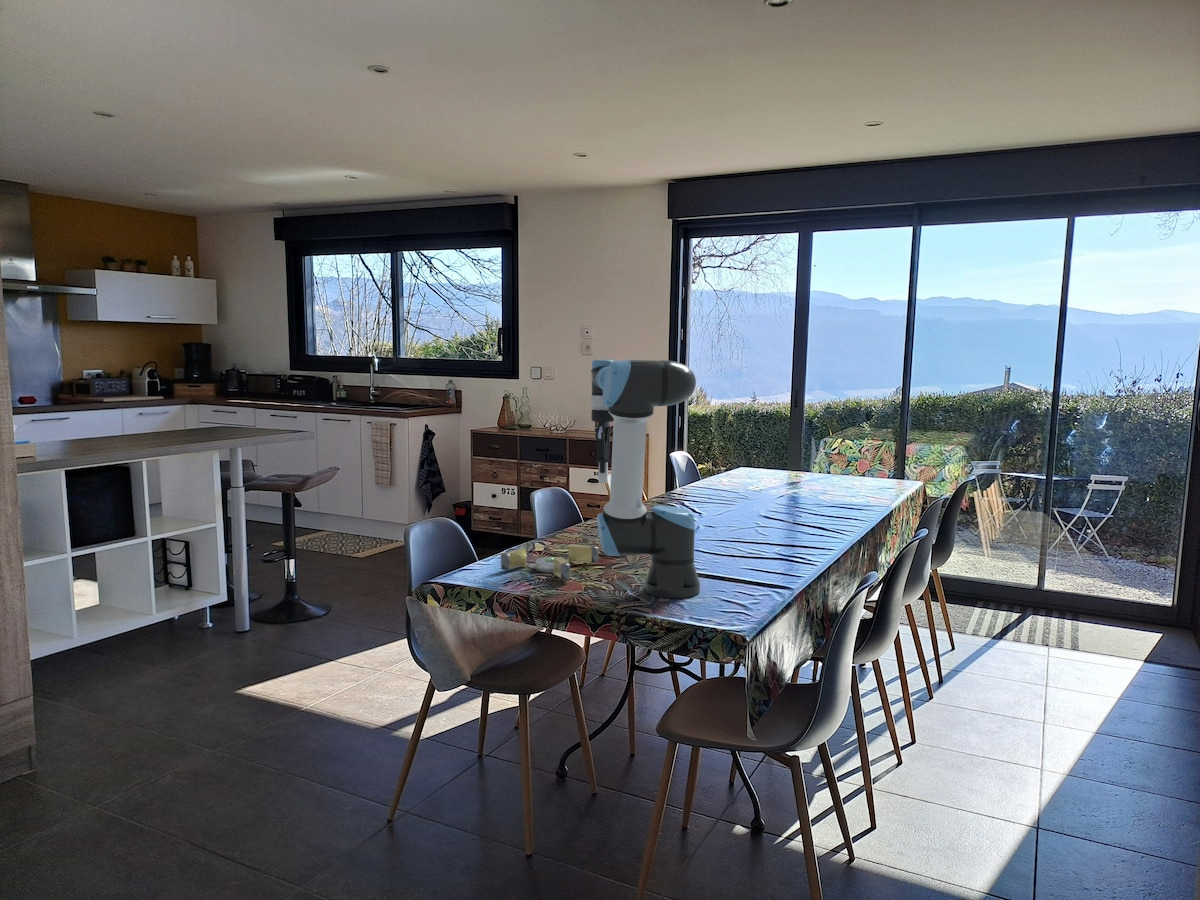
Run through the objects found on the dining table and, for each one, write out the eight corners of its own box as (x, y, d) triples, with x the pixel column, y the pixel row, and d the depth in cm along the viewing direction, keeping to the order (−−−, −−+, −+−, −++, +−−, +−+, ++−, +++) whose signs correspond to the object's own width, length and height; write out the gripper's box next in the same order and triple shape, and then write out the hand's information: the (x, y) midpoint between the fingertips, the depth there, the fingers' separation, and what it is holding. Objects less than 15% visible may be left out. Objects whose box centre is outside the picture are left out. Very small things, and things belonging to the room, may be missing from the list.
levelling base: (559, 574, 236) (559, 563, 236) (524, 572, 238) (524, 561, 238) (569, 564, 248) (569, 554, 247) (535, 562, 250) (535, 552, 250)
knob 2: (565, 563, 248) (565, 546, 248) (567, 561, 251) (567, 544, 250) (597, 565, 245) (597, 548, 245) (599, 563, 248) (599, 546, 247)
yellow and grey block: (522, 565, 246) (522, 547, 245) (529, 566, 245) (528, 548, 244) (499, 572, 238) (499, 554, 237) (505, 573, 236) (505, 555, 236)
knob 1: (552, 574, 235) (552, 556, 235) (561, 574, 236) (561, 555, 236) (562, 584, 226) (562, 565, 225) (570, 583, 226) (570, 564, 226)
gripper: (611, 410, 244) (610, 486, 247) (618, 407, 257) (618, 479, 260) (587, 409, 246) (587, 485, 248) (595, 407, 258) (595, 479, 261)
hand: (603, 482), depth 254 cm, fingers closed
